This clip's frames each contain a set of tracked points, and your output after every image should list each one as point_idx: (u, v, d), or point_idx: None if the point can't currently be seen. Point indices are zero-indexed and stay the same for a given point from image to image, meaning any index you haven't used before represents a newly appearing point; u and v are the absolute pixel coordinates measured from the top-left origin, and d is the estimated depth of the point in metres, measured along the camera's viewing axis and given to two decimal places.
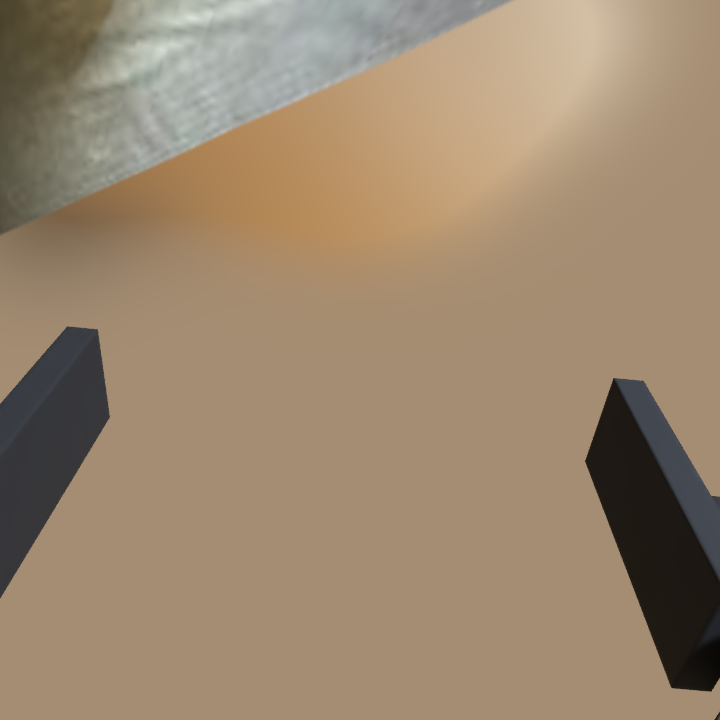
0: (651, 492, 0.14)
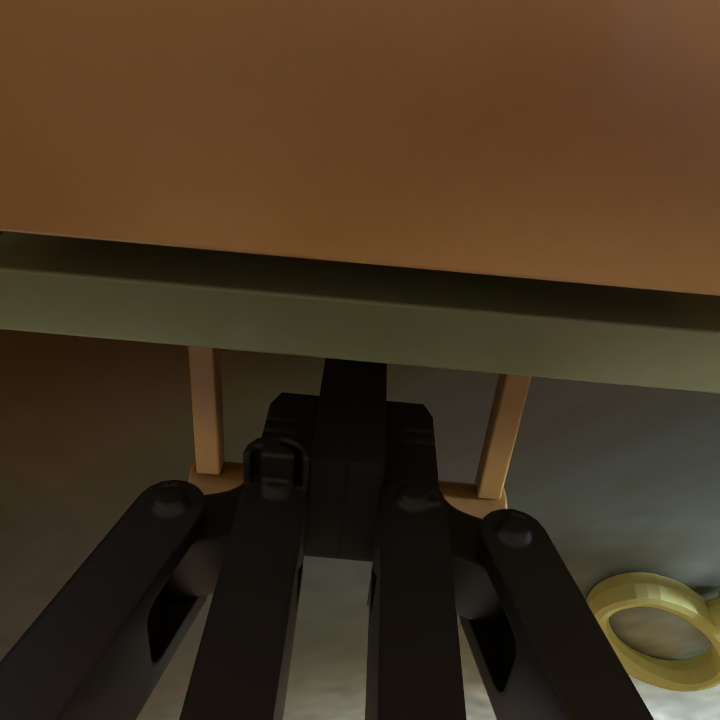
0: None
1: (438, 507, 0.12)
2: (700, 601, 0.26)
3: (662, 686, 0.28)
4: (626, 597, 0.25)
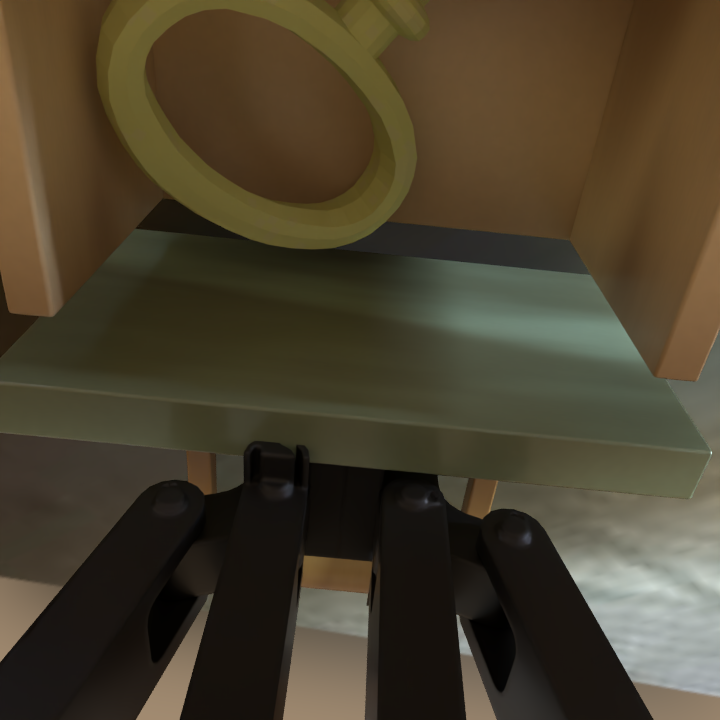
0: None
1: (438, 507, 0.12)
2: None
3: (318, 245, 0.16)
4: None
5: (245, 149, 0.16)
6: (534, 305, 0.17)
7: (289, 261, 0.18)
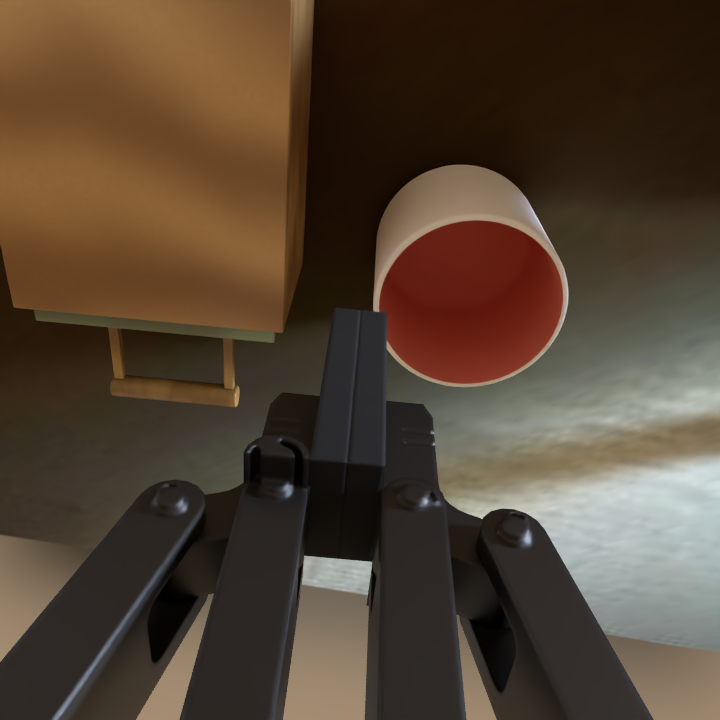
0: None
1: (438, 507, 0.12)
2: None
3: None
4: None
5: None
6: None
7: None
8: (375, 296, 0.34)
